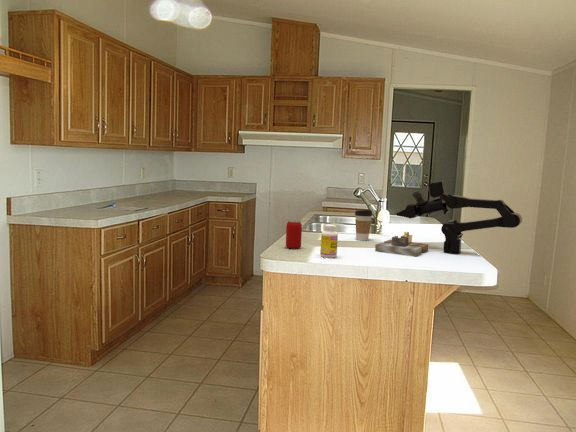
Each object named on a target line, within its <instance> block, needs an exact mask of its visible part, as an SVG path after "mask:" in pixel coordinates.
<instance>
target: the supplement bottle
mask: <svg viewBox="0 0 576 432" xmlns="http://www.w3.org/2000/svg"><path fill="white" fill-rule="evenodd" d="M323 225H324V226H323V228H324V230H323V231H321V235H320V254H319V255H320V257H322V258H328V259H333V258H334V259H335V258H336V257H337V256H338V240H339V239H338V238H339V237H338V236H339V233H338V232H337V231H336V229H337V226H336V224H328V223H327V224H323Z"/></svg>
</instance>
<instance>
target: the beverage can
mask: <svg viewBox="0 0 576 432" xmlns="http://www.w3.org/2000/svg"><path fill="white" fill-rule="evenodd" d="M302 227H303V224H302V222H301V220H297V219H289V220H288V221H287V222H286V229H285V232H286V233H285V246H286V247H287V248H288V249H289V248H291V249H290V250H298V249H299V248H301V247H302V235H303V233H302V232H303V230H302Z"/></svg>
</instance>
